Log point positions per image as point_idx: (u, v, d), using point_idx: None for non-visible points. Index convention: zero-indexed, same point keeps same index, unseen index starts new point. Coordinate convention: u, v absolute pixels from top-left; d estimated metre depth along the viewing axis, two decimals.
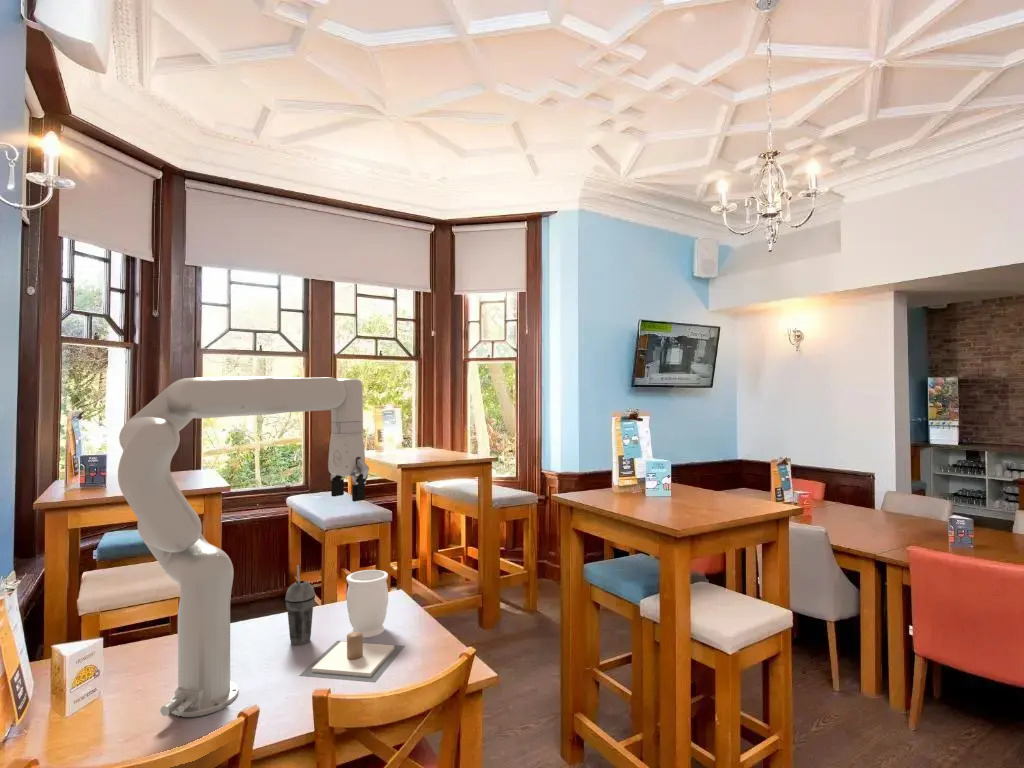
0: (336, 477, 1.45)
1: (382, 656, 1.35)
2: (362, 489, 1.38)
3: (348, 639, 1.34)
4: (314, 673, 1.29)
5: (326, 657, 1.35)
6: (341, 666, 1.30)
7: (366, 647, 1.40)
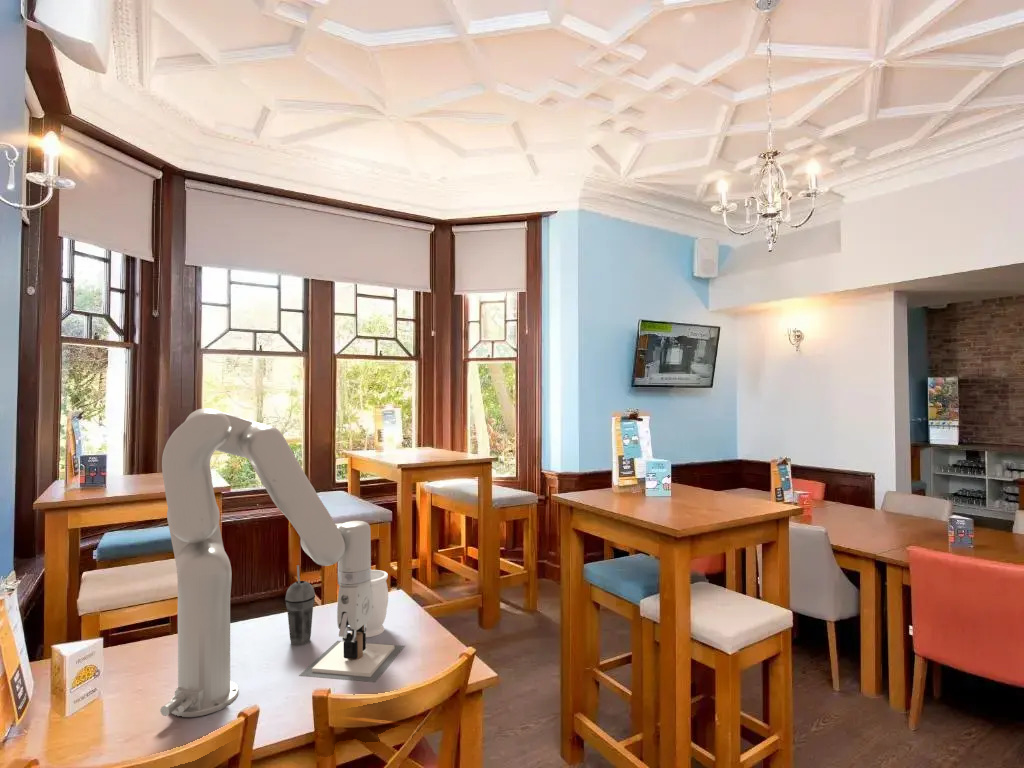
0: None
1: (382, 656, 1.35)
2: None
3: None
4: (314, 673, 1.29)
5: (326, 657, 1.35)
6: (341, 666, 1.30)
7: (366, 647, 1.40)
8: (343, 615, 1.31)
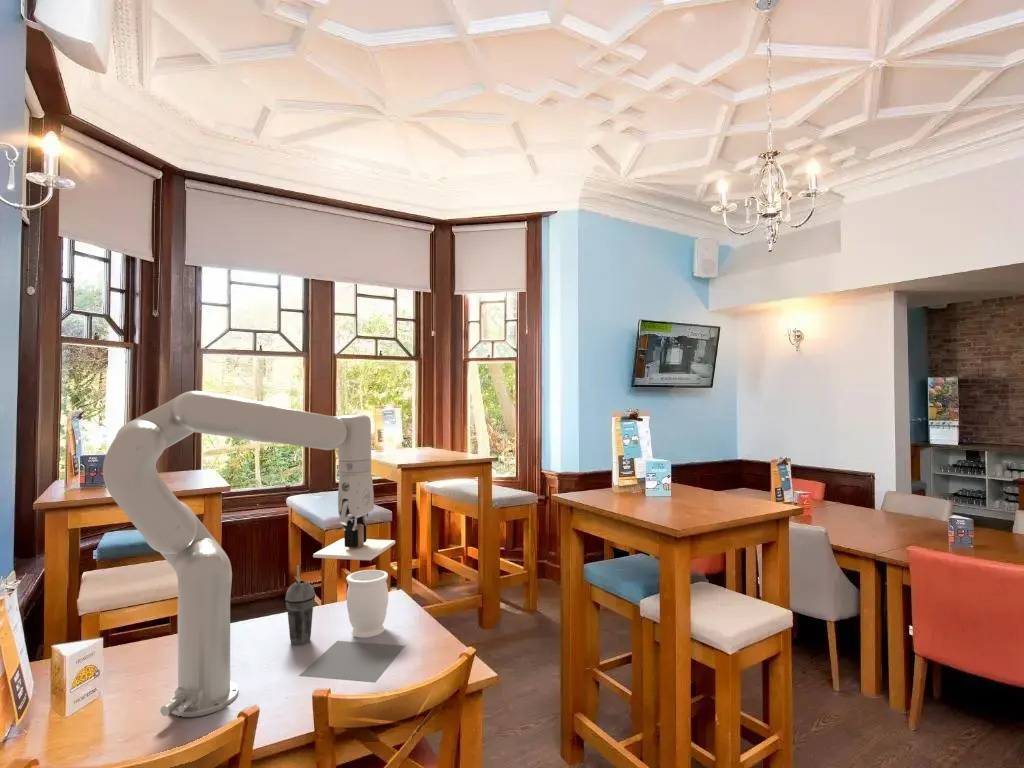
0: None
1: (383, 546, 1.36)
2: None
3: None
4: (314, 673, 1.29)
5: (327, 547, 1.36)
6: (342, 552, 1.32)
7: (367, 541, 1.41)
8: (344, 502, 1.32)
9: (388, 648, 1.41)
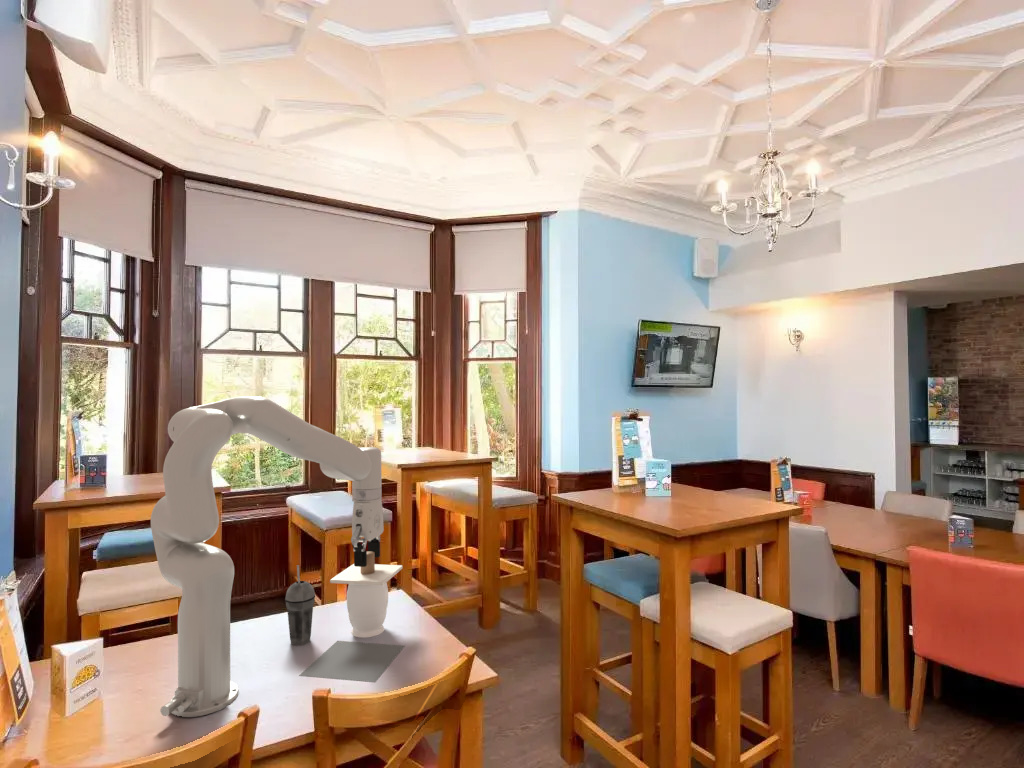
0: None
1: (392, 572, 1.51)
2: None
3: None
4: (314, 673, 1.29)
5: (342, 573, 1.51)
6: (356, 578, 1.47)
7: (377, 566, 1.56)
8: (357, 525, 1.47)
9: (388, 648, 1.41)
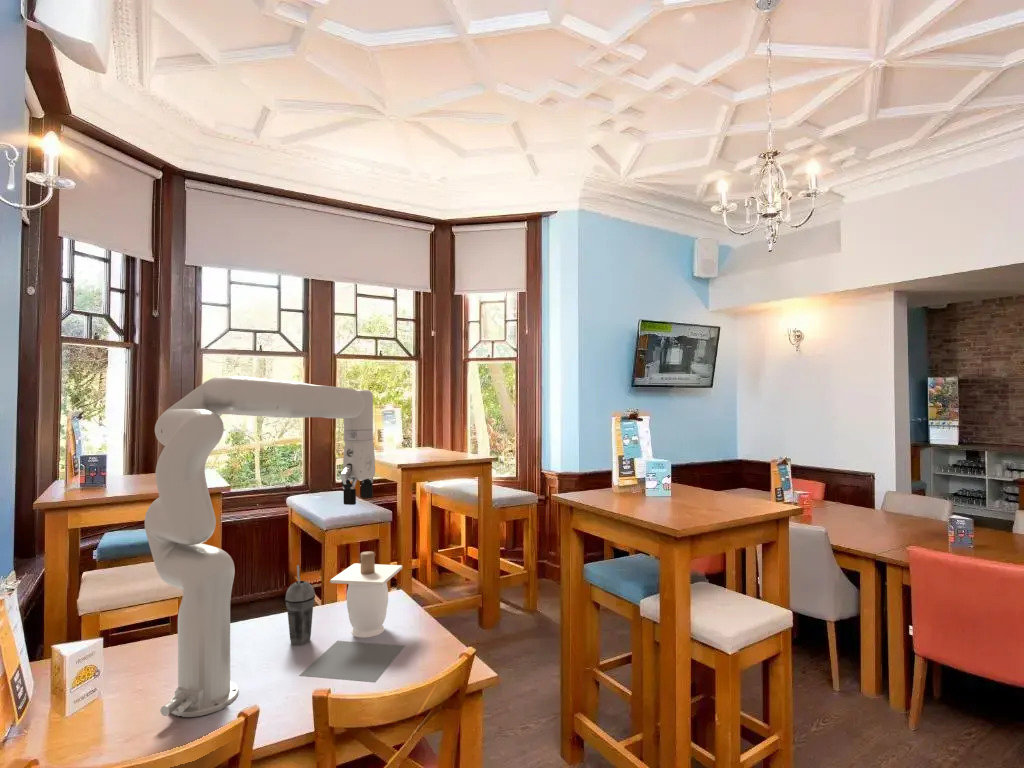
0: None
1: (392, 572, 1.51)
2: None
3: (362, 556, 1.50)
4: (314, 673, 1.29)
5: (342, 573, 1.51)
6: (356, 578, 1.47)
7: (377, 566, 1.56)
8: (347, 464, 1.48)
9: (388, 648, 1.41)
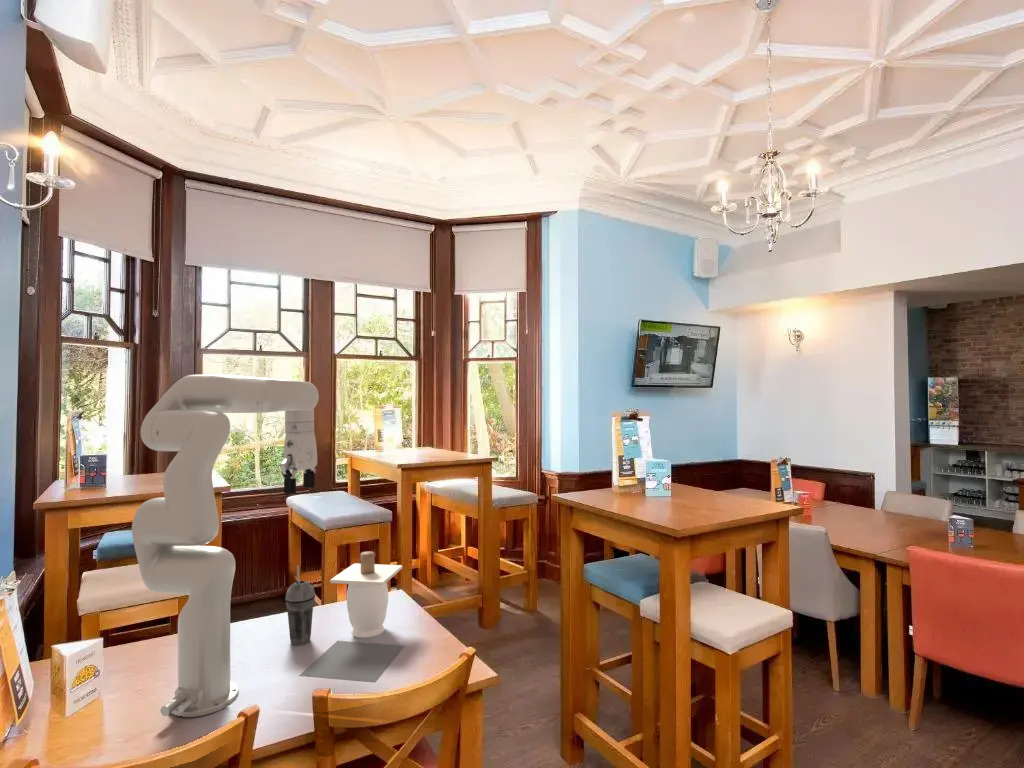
0: None
1: (392, 572, 1.51)
2: None
3: (362, 556, 1.50)
4: (314, 673, 1.29)
5: (342, 573, 1.51)
6: (356, 578, 1.47)
7: (377, 566, 1.56)
8: (288, 455, 1.54)
9: (388, 648, 1.41)
